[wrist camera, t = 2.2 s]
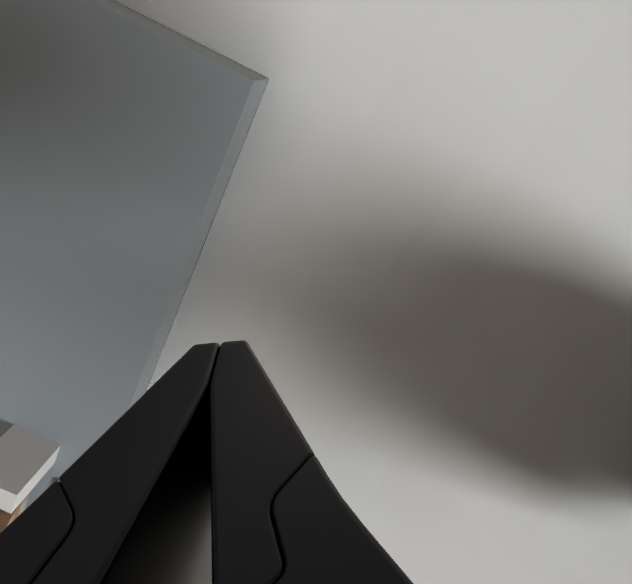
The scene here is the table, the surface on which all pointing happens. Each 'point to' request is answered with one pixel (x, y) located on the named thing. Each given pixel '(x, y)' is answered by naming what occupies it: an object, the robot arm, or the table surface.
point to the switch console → (99, 214)
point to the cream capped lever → (3, 518)
